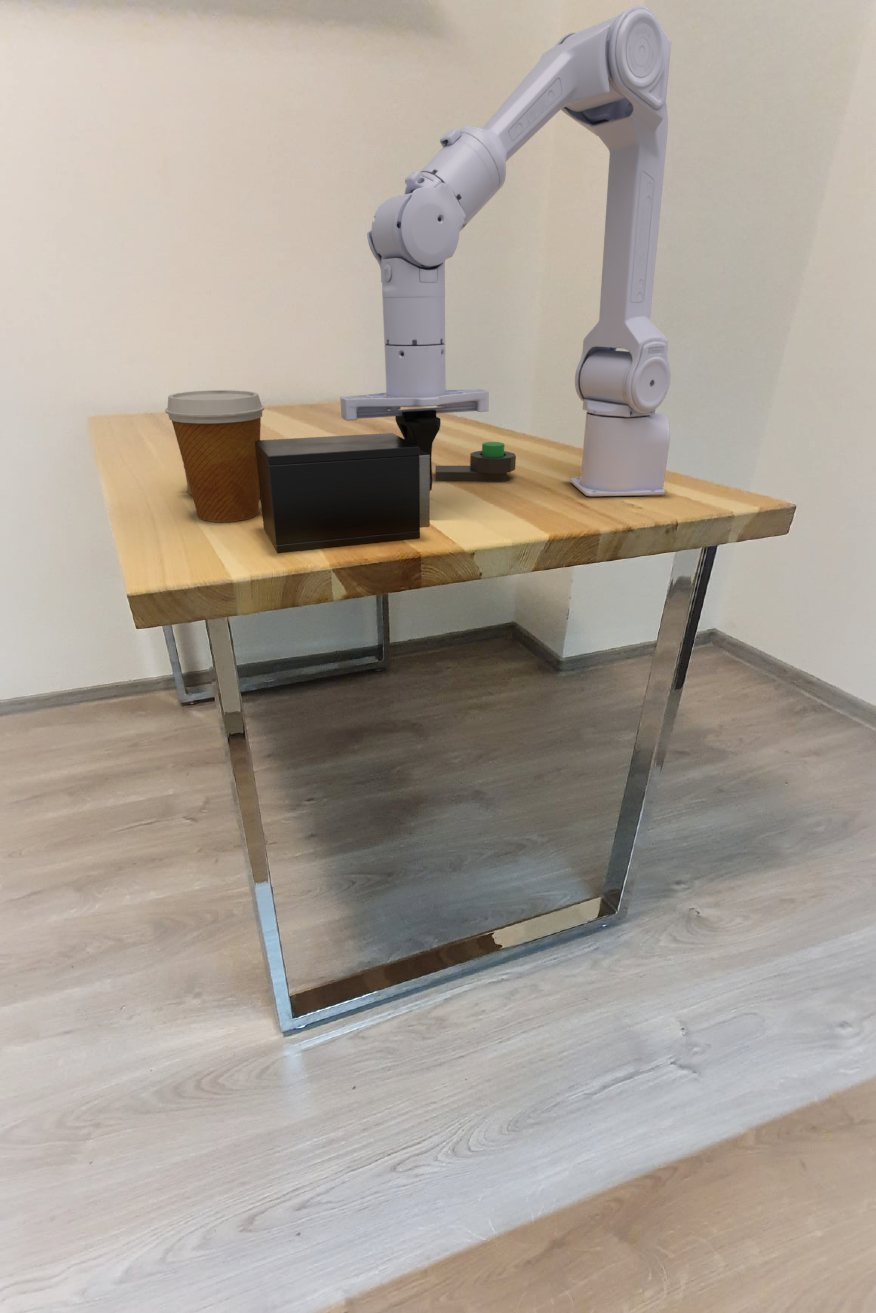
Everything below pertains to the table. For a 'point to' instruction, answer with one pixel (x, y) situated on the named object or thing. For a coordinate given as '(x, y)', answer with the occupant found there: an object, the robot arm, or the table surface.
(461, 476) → the control block
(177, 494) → the table surface
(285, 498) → the cabinet
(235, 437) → the disposable coffee cup
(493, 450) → the button
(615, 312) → the robot arm
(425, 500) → the drawer
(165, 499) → the table surface
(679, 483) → the table surface
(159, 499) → the table surface
